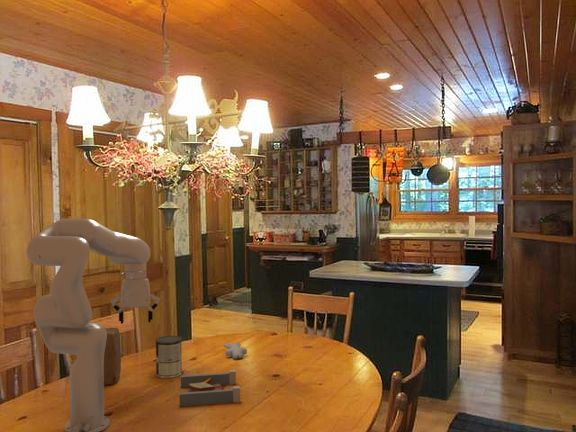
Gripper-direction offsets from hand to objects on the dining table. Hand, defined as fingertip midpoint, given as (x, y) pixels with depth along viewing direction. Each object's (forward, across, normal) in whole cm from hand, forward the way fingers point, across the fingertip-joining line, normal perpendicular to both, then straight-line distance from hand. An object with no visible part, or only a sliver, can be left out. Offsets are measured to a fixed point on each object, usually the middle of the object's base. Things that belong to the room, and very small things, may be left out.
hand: (135, 322), depth 182 cm
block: (+24, -10, +11) cm, 29 cm away
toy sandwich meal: (+25, +25, -12) cm, 37 cm away
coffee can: (+24, +12, +14) cm, 31 cm away
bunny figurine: (+24, +40, +33) cm, 58 cm away
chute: (+24, +26, -11) cm, 37 cm away
